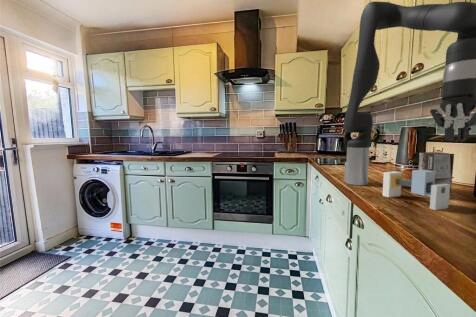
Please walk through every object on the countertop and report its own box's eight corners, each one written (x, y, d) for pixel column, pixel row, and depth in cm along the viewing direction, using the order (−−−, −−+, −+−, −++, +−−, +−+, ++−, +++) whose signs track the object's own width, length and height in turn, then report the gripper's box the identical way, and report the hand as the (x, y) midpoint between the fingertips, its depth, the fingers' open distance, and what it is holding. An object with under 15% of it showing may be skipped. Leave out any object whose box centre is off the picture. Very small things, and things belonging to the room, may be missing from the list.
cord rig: (382, 195, 85) (383, 172, 84) (394, 194, 87) (395, 171, 86) (435, 210, 68) (437, 181, 67) (448, 207, 70) (450, 179, 69)
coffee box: (451, 198, 80) (455, 153, 78) (430, 198, 81) (434, 153, 79) (434, 192, 88) (437, 151, 87) (416, 191, 90) (418, 151, 88)
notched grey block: (410, 192, 75) (412, 170, 75) (420, 191, 77) (422, 169, 76) (423, 195, 72) (425, 172, 71) (433, 194, 73) (435, 171, 72)
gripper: (424, 84, 69) (420, 141, 71) (485, 72, 56) (478, 142, 57) (441, 85, 71) (436, 140, 73) (503, 74, 58) (496, 141, 60)
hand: (455, 141), depth 65 cm, fingers closed
